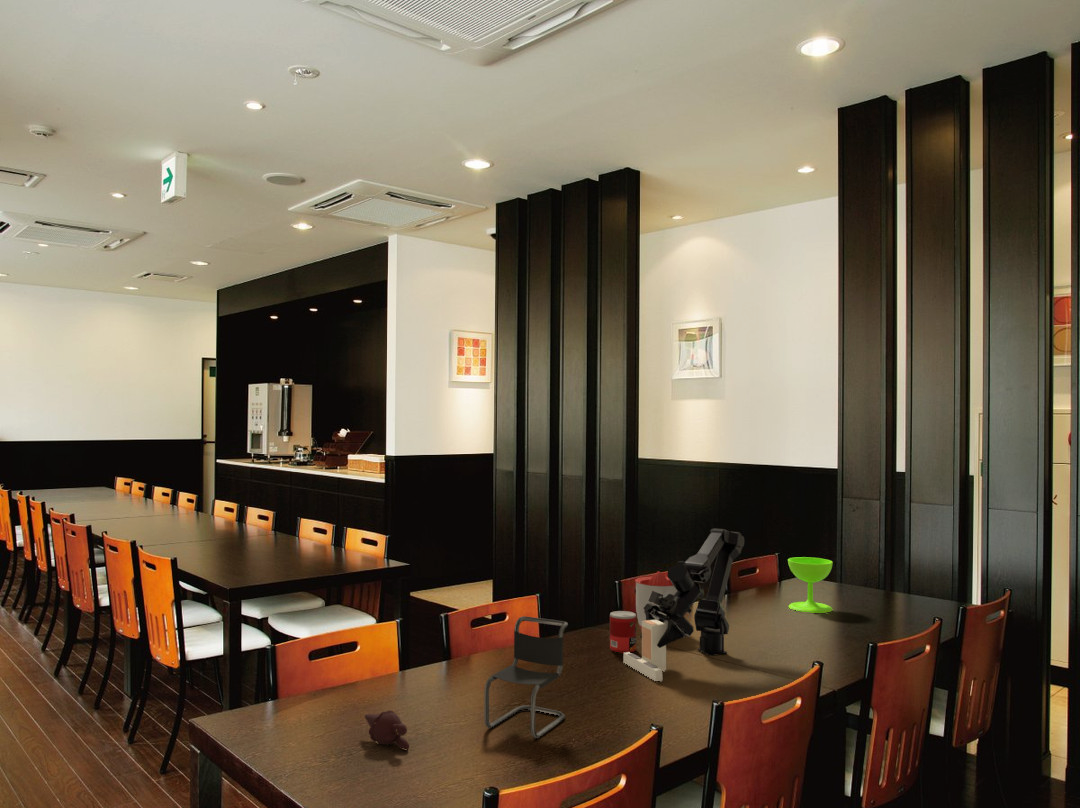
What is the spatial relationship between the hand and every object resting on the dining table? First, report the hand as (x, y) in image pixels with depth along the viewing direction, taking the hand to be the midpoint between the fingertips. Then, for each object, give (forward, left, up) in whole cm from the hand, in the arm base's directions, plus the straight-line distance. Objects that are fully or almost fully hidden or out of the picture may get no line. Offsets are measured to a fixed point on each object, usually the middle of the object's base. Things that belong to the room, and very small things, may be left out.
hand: (649, 642), depth 220 cm
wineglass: (-94, -43, -8) cm, 104 cm away
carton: (-1, 0, -8) cm, 8 cm away
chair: (+47, +25, -8) cm, 53 cm away
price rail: (+3, +1, -8) cm, 8 cm away
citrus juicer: (-24, -34, -8) cm, 43 cm away
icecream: (+79, +24, -8) cm, 83 cm away
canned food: (-2, -20, -8) cm, 22 cm away
